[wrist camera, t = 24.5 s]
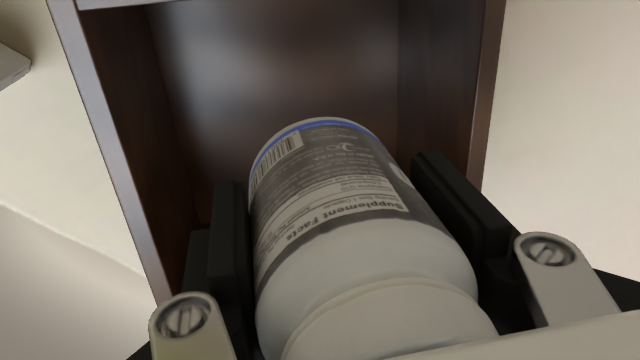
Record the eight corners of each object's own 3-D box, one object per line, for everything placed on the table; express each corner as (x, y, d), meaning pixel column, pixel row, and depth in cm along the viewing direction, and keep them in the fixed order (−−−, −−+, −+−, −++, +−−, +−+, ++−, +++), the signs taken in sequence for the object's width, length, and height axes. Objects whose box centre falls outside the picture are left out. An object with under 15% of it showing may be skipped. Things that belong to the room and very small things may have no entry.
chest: (119, -33, 21) (38, -16, 12) (409, -58, 22) (515, -59, 14) (191, 228, 28) (172, 349, 20) (402, 195, 30) (468, 294, 22)
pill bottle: (396, 218, 15) (540, 464, 8) (268, 253, 15) (301, 539, 8) (379, 94, 13) (564, 286, 6) (227, 133, 13) (220, 386, 5)
